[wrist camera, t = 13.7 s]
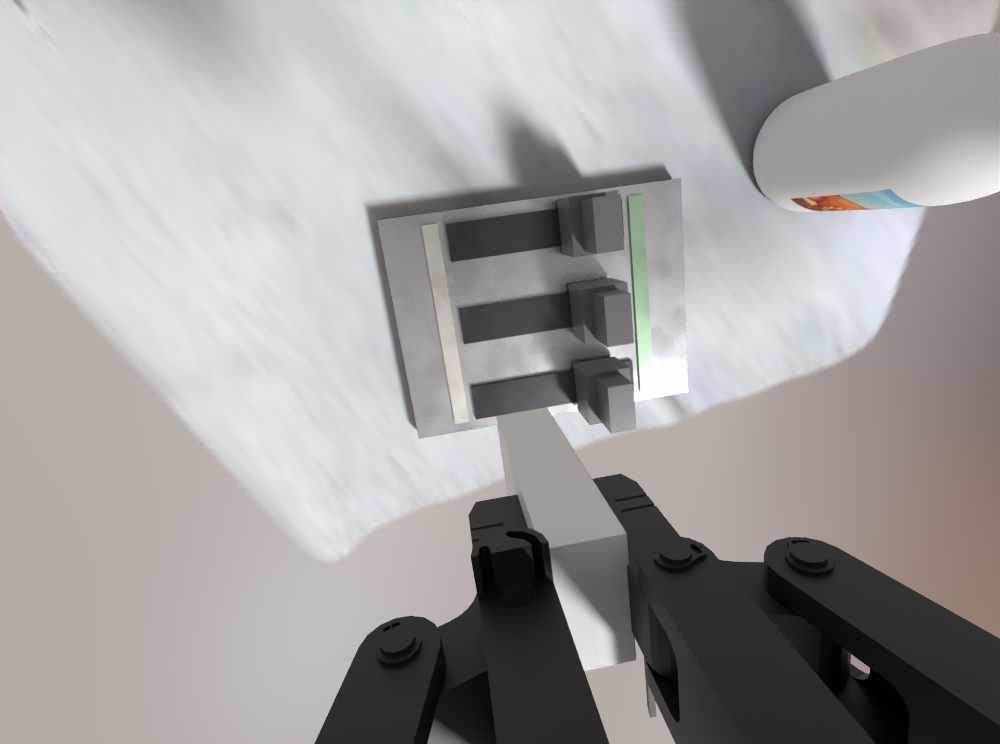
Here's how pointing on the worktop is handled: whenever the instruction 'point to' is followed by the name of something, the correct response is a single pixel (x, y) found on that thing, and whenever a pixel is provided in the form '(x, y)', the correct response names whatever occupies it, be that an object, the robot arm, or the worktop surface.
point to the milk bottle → (889, 134)
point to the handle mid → (602, 312)
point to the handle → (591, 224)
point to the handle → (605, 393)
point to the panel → (528, 305)
